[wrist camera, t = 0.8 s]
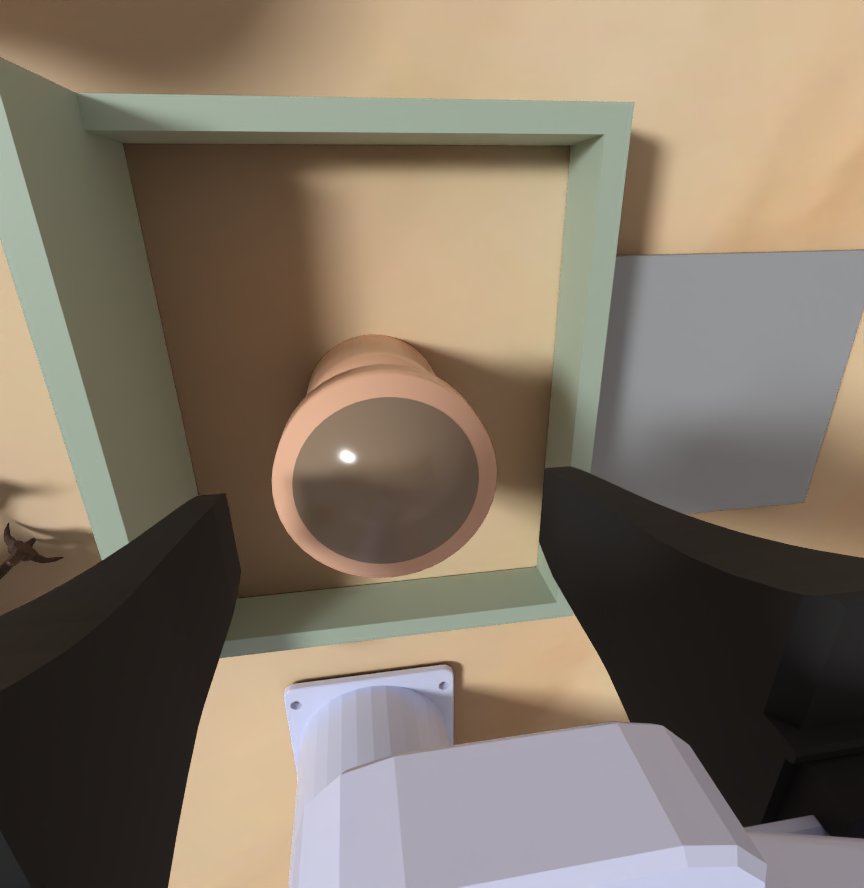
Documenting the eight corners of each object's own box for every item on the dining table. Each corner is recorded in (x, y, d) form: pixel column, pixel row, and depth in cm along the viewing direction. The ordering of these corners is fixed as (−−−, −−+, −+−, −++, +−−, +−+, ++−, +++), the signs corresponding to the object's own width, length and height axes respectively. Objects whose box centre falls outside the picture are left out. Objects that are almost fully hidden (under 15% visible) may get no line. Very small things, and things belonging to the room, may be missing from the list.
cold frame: (552, 579, 25) (611, 681, 19) (204, 617, 22) (159, 744, 17) (596, 118, 17) (712, 70, 12) (86, 111, 15) (-61, 50, 10)
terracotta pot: (449, 463, 21) (493, 567, 15) (304, 474, 21) (286, 589, 14) (449, 320, 19) (501, 370, 13) (287, 326, 18) (255, 384, 12)
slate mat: (793, 496, 25) (803, 502, 24) (573, 516, 23) (578, 523, 23) (867, 249, 20) (881, 250, 20) (601, 255, 19) (608, 256, 18)
